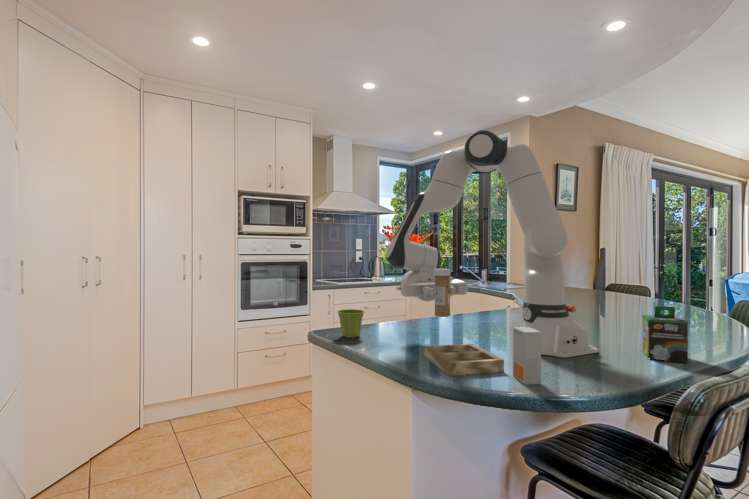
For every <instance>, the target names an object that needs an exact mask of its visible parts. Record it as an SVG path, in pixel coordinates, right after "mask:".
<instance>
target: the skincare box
mask: <svg viewBox="0 0 749 499" xmlns="http://www.w3.org/2000/svg"><path fill="white" fill-rule="evenodd" d="M512 328H513V329H512V330H513V332H512V376H513V377H514V378H516V379H517V380H518V381H519V382H520V383H521V384H523V385H525V386H526V385H527V386H528V385H541V384H542V354H541V332H540V331H537V330H536V329H533V328H530V327H523V326H512Z"/></svg>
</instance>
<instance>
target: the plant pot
mask: <svg viewBox="0 0 749 499" xmlns="http://www.w3.org/2000/svg"><path fill="white" fill-rule="evenodd" d="M336 312H337V314H338V318H339V323H340V332H341V337H343V338H347V339H350V338H351V339H355V338H357V337H358V338H359V337H360V334H361V328H362V321H363V317H364V313H365V312H366V311H365V310H363V309H362V310H361V309H351V308H349V309H347V308H346V309H339V310H337V311H336Z"/></svg>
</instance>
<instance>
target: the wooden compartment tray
mask: <svg viewBox="0 0 749 499" xmlns="http://www.w3.org/2000/svg"><path fill="white" fill-rule="evenodd" d="M424 358H426V359H427V360H428V361H429V362H431V363H432V364H433V365H434V366H436V367H437V368H438V369H440V370H441V369H442V370H441V371H442V372H444V373H445V372H446V373H447V374H446V373H445V374H446V375H448V376H450V377H452V376H453V377H454V376H455V375H457V376H467V375H466V374H469V375H479V374H480V375H481V374H495V373H503V372H505V359H503V358H502V357H499V356H497V355H495V354H494V353H491V352H489V351H487V350H486V349H484V348H481V347H479V346H478V345H476V344H474V343H463V344H443V345H441V344H440V345H427V346H426V345H425V346H424Z"/></svg>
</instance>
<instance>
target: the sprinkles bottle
mask: <svg viewBox="0 0 749 499" xmlns="http://www.w3.org/2000/svg"><path fill="white" fill-rule="evenodd" d="M434 275H435V288H436V290H437V291H436V292H437V294H436V295H435V299H434V316H435V317H437V318H438V317H440V318H448V317H450V316H451V296H450V276H451V275H452V273H451V269H450V268H440V269H435V270H434Z"/></svg>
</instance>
